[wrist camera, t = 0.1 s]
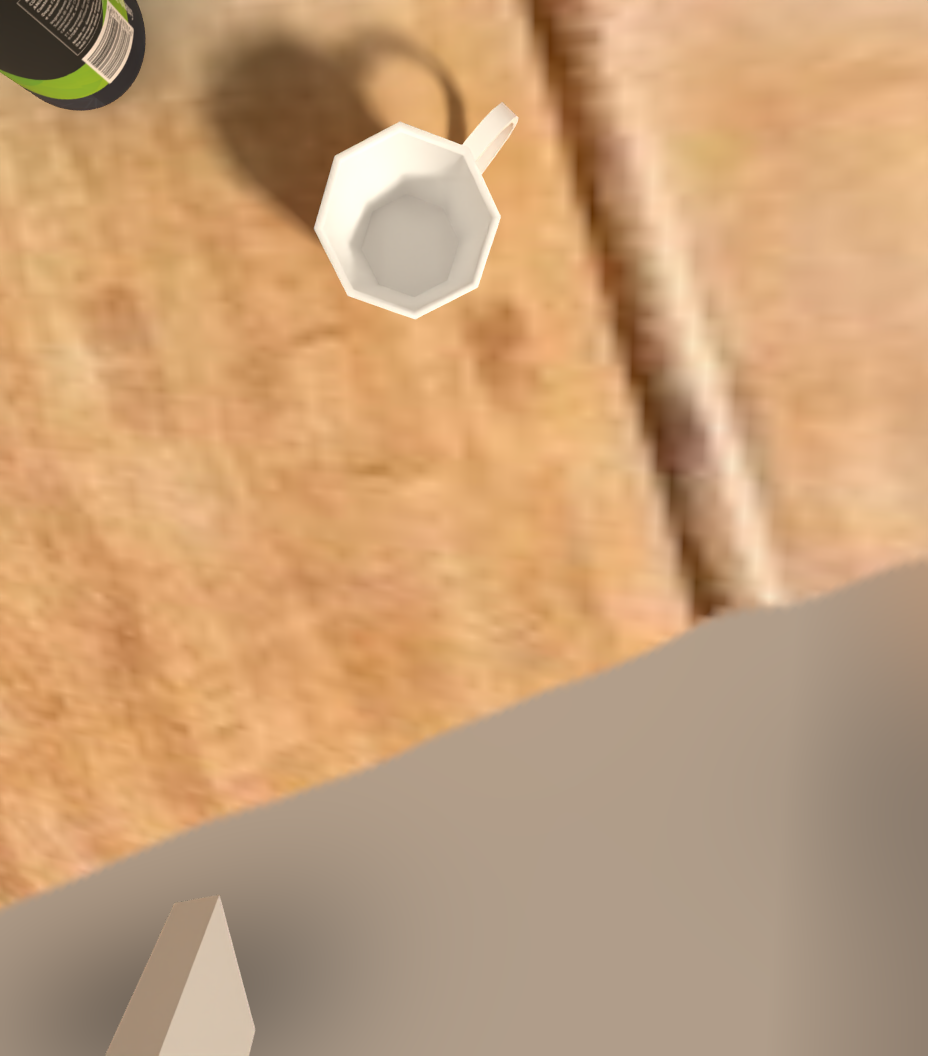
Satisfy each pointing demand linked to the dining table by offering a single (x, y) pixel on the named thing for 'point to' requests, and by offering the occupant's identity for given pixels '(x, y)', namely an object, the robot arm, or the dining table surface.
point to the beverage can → (72, 49)
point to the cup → (412, 215)
